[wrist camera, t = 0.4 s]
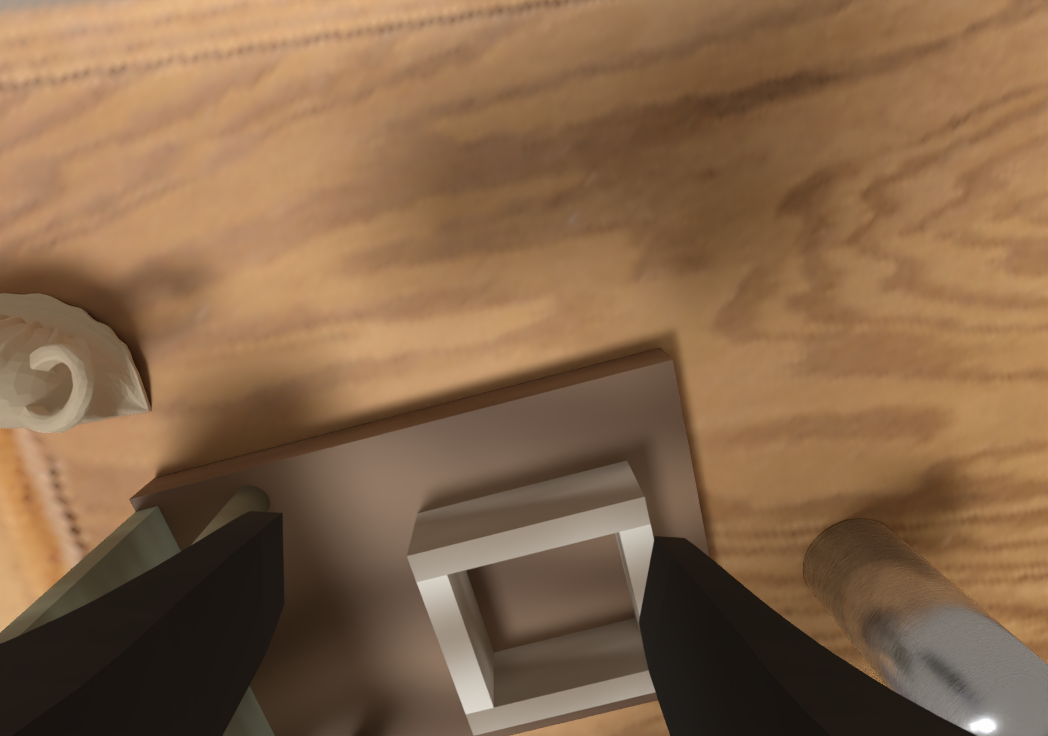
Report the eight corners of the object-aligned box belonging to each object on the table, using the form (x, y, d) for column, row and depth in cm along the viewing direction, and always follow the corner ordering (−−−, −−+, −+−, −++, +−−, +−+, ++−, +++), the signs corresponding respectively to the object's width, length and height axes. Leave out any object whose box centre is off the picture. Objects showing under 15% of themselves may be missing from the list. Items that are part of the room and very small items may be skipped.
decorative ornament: (-77, 283, 19) (-290, 318, 14) (189, 309, 20) (79, 351, 14) (-55, 399, 20) (-244, 471, 15) (195, 420, 21) (96, 495, 16)
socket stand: (719, 653, 25) (868, 964, 15) (293, 756, 25) (163, 1120, 15) (660, 347, 21) (813, 494, 11) (154, 478, 21) (-148, 732, 11)
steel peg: (902, 589, 24) (1089, 773, 17) (808, 612, 24) (950, 804, 17) (896, 508, 23) (1095, 665, 15) (798, 532, 23) (946, 700, 16)
